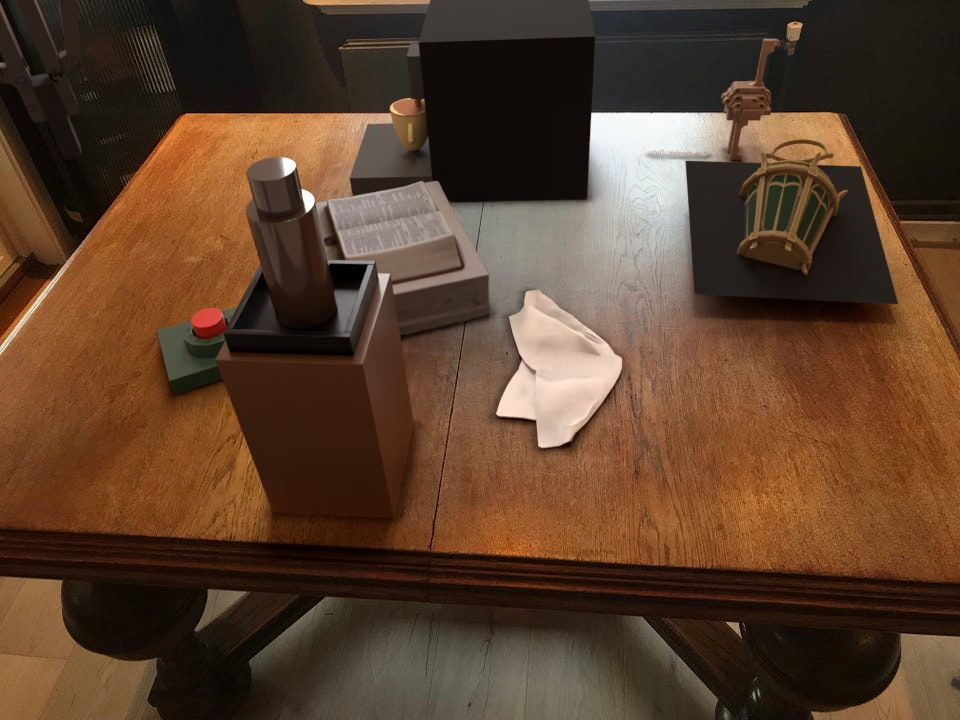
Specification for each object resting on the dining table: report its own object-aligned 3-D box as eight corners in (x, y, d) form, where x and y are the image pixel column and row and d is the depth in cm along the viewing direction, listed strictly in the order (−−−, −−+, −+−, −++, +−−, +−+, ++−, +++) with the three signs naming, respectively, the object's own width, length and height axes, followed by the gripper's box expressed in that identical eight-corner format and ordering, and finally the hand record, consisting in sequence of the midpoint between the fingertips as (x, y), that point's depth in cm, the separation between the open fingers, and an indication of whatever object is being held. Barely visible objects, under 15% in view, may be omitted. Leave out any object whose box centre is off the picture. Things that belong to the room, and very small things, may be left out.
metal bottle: (284, 336, 62) (243, 193, 54) (268, 301, 66) (228, 162, 57) (345, 316, 64) (315, 175, 55) (327, 283, 67) (296, 145, 59)
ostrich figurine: (754, 145, 124) (778, 31, 112) (761, 166, 119) (787, 48, 107) (647, 144, 126) (660, 32, 114) (650, 165, 121) (663, 49, 109)
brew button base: (175, 394, 88) (163, 369, 85) (162, 343, 94) (151, 318, 92) (278, 361, 91) (270, 335, 88) (259, 314, 98) (251, 289, 95)
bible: (300, 354, 92) (281, 287, 85) (311, 231, 112) (297, 169, 105) (494, 333, 93) (491, 266, 86) (471, 215, 113) (468, 153, 106)
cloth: (621, 454, 78) (623, 439, 76) (486, 444, 80) (485, 429, 78) (622, 296, 97) (623, 282, 95) (513, 292, 99) (512, 277, 97)
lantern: (679, 329, 98) (674, 160, 113) (863, 348, 97) (832, 176, 113) (709, 261, 86) (698, 84, 102) (919, 282, 85) (876, 101, 101)
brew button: (198, 342, 89) (193, 331, 87) (192, 325, 91) (188, 313, 90) (229, 333, 90) (225, 321, 88) (223, 315, 92) (219, 304, 91)
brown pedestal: (272, 512, 75) (207, 340, 60) (304, 421, 84) (255, 252, 69) (394, 519, 73) (358, 345, 59) (414, 426, 82) (387, 254, 67)
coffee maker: (371, 148, 130) (348, 0, 114) (580, 142, 128) (586, -9, 112) (354, 204, 117) (325, 45, 101) (587, 199, 115) (595, 36, 99)
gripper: (36, -182, 57) (142, 119, 73) (-165, -162, 54) (-7, 152, 69) (39, -171, 52) (153, 151, 68) (-183, -147, 48) (-8, 188, 64)
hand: (72, 151), depth 69 cm, fingers closed
